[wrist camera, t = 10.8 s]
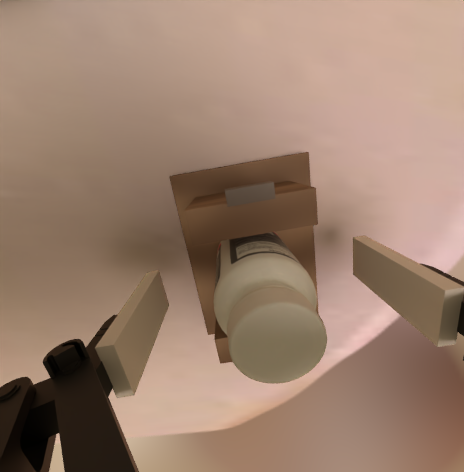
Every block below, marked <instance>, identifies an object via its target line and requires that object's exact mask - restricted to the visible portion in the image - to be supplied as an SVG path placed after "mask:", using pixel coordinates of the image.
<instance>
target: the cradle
mask: <svg viewBox="0 0 464 472" xmlns="http://www.w3.org/2000/svg"><path fill="white" fill-rule="evenodd" d="M170 181H171V185H172V189H173V193H174V197H175V201H176V205H177V209H178V213H179V217H180V221H181V226H182V230H183V234H184V238H185V242H186V246H187V250H188V254H189V258H190V262H191V266H192V270H193V275H194V279H195V283H196V287H197V291H198V295H199V299H200V303H201V307H202V311H203V315H204V320H205V324H206V328H207V332H208V335H210V334H215V343H216V347H217V352H218V356H219V360H220V364H221V363H227V362H233V361H232V358H231V356H230V352H229V343H228V336H227V335H226V334H225V332H224V331H223V330H222V329H221V327H220V325H219V323H218V321H217V319H216V315H215V311H214V291H215V277H216V259H217V250H218V246H219V244H220V242H221V241H223V240H229V239H235V238H241V237H247V236H253V235H258V234H264V233H270V232H276V233H277V235H278V236H279V237H280V238H281V239H282V241H283V242H284V243H285V245H286V246H287V247H288V248H289V250H290V251H291V252H292V254H293V255H294V256H295V257H296V259H297V260H298V261H299V262H300V264H301V265H302V266H303V267H304V269H305V270H306V271H307V272H308V274H309V276H310V278H311V279H312V281H313V283H314V286H315V289H316V294H317V282H316V266H315V250H314V233H313V225H317V224H318V220H317V201H316V188H314V187H311V185H310V168H309V152H305V153H299V154H293V155H287V156H282V157H276V158H270V159H265V160H259V161H253V162H248V163H242V164H236V165H231V166H225V167H219V168H214V169H208V170H202V171H197V172H191V173H185V174H180V175H174V176H170ZM316 312H317V314H318V298H317V306H316ZM319 317H320V316H319ZM320 319H321V318H320ZM321 320H322V319H321ZM322 322H323V321H322Z"/></svg>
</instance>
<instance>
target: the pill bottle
mask: <svg viewBox="0 0 464 472" xmlns="http://www.w3.org/2000/svg"><path fill="white" fill-rule="evenodd" d="M316 306H317V294H316V289H315V286H314V283H313V281H312V279H311V278H310V276H309V274H308V272H307V271H306V270H305V269H304V267H303V266H302V265H301V264H300V262H299V261H298V260H297V259H296V257H295V256H294V255H293V254H292V252H291V251H290V250H289V248H288V247H287V246H286V245H285V243H284V242H283V241H282V239H281V238H280V237H279V236H278V235H277V233H276V232H270V233H264V234H258V235H253V236H247V237H241V238H235V239H229V240H223V241H221V242H220V244H219V246H218V250H217V259H216V277H215V291H214V311H215V315H216V319H217V321H218V323H219V325H220V327H221V329H222V330H223V331H224V332H225V334H226V335H227V336H228V343H229V352H230V356H231V358H232V361H233V363H234V364H235V366H236V367H237V368H238V369H239V370H240V371H241V372H242V373H243V374H244V375H246V376H247V377H249V378H251V379H253V380H256V381H260V382H264V383H285V382H289V381H292V380H295V379H298V378H300V377H302V376H303V375H305V374H307V373H308V372H309V371H311V370H312V369H313V368H314V367H315V366H316V365H317V364H318V363H319V361H320V360H321V358H322V356H323V354H324V352H325V349H326V343H327V335H326V330H325V326H324V324H323V322H322V320H321V319H320V317H319V315H318V314H317V312H316Z"/></svg>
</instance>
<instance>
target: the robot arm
mask: <svg viewBox="0 0 464 472" xmlns="http://www.w3.org/2000/svg"><path fill="white" fill-rule="evenodd" d="M353 275H355V276H356V277H357V278H358V279H359V280H360V281H362V282H363V283H364V284H365V285H366V286H367V287H368V288H370V289H371V290H372V291H373V292H374V293H375V294H377V295H378V296H379V297H380V298H381V299H382V300H384V301H385V302H386V303H387V304H388V305H389V306H391V307H392V308H393V309H394V310H395V311H396V312H398V313H399V314H400V315H401V316H402V317H403V318H405V319H406V320H407V321H408V322H409V323H410V324H411V325H413V326H414V327H415V328H416V329H417V330H418V331H420V332H421V333H422V334H423V335H424V336H425V337H427V338H428V339H429V340H430V341H431V342H432V343H433V344H435V345H436V346H437V347H440V346H446V345H453V344H456V339H457V333H458V332H459V333H460V334H462V335H463V336H464V282H462V281H460V280H458V279H456V278H454V277H452V276H450V275H448V274H446V273H443V272H442V271H440V270H438V269H436V268H434V267H431V266H428V265H424V264H419V263H417V262H415V261H413V260H411V259H409V258H407V257H405V256H403V255H401V254H400V253H398V252H396V251H394V250H392V249H390V248H388V247H386V246H384V245H382V244H380V243H378V242H376V241H374V240H372V239H370V238H368V237H367V236H359V237H353ZM168 306H169V303H168V300H167V296H166V293H165V290H164V286H163V283H162V279H161V276H160V273H159V270H157V271H152V272H147V274H146V275H145V277H144V278H143V280H142V281H141V282H140V284H139V285H138V287H137V288H136V290H135V291H134V292H133V294H132V295H131V297H130V298H129V300H128V301H127V302H126V304H125V305H124V307H123V308H122V310H121V311H120V312H119V314H118V315H113V316H112V317H111V318H109V319H108V320H107V321H106V322H105V323H104V324H103V325H102V327H101V328H100V331H98V332H97V333H96V335H95V337H94V338H93V339H92V340H91V342H90V343H89V344H88V346H87V347H86V348H85V346H84V344H83V341H81V340H80V339H73V340H69V341H67V342H64V343H62V344H60V345H59V346H57V347H55V348H54V349H53V350H51V351H50V352H49V353H48V354H47V355H46V357H45V358H44V360H43V364H44V366H45V368H46V370H47V371H48V373H49V375H50V377H51V378H49V379H47V380H44V381H42V382H39V383H37V384H34V385H33V383H32V381H31V379H30V378H28V377H21V378H18V379H15V380H13V381H11V382H9V383H7V384H5V385H3V386H2V387H0V472H49V468H50V463H51V458H52V453H53V448H54V443H55V438H56V434H57V433H59V434H60V441H61V447H62V455H63V462H64V470H65V472H139V471H138V468H137V466H136V463H135V461H134V459H133V456H132V454H131V451H130V449H129V447H128V444H127V442H126V439H125V437H124V434H123V432H122V429H121V427H120V425H119V422H118V420H117V417H116V415H115V412H114V410H113V408H112V405H111V403H110V400H109V398H108V396H109V394H110V392H111V390H112V388H113V390H114V392H115V395H116V397H117V398H119V397H126V396H132V395H134V394H135V392H136V389H137V387H138V384H139V381H140V379H141V376H142V374H143V371H144V368H145V366H146V363H147V361H148V358H149V356H150V353H151V350H152V348H153V345H154V343H155V340H156V337H157V335H158V332H159V330H160V327H161V324H162V322H163V319H164V317H165V314H166V312H167V309H168ZM463 360H464V357H463Z"/></svg>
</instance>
